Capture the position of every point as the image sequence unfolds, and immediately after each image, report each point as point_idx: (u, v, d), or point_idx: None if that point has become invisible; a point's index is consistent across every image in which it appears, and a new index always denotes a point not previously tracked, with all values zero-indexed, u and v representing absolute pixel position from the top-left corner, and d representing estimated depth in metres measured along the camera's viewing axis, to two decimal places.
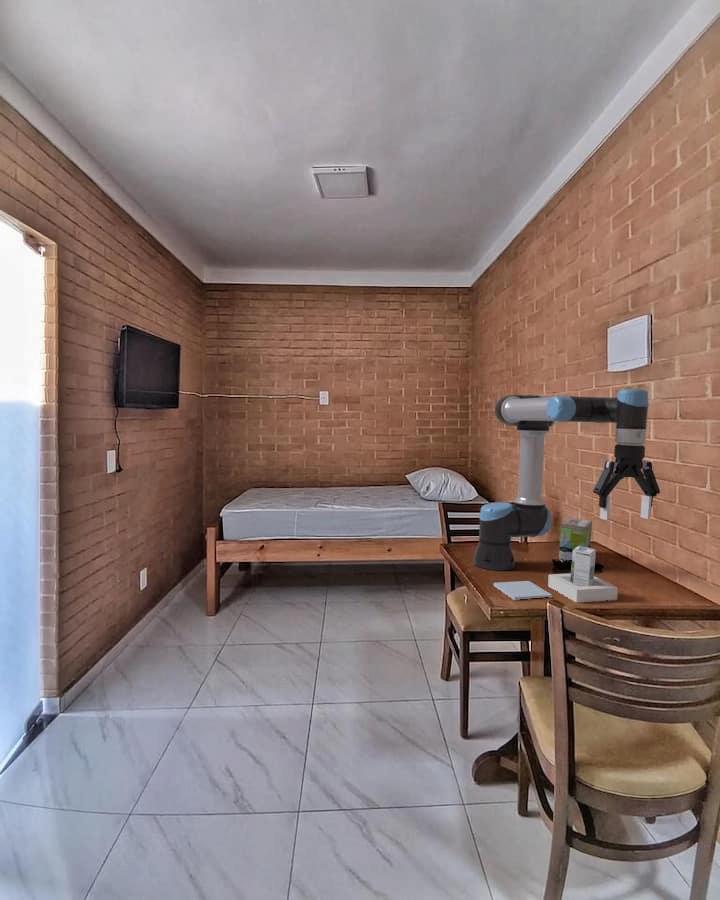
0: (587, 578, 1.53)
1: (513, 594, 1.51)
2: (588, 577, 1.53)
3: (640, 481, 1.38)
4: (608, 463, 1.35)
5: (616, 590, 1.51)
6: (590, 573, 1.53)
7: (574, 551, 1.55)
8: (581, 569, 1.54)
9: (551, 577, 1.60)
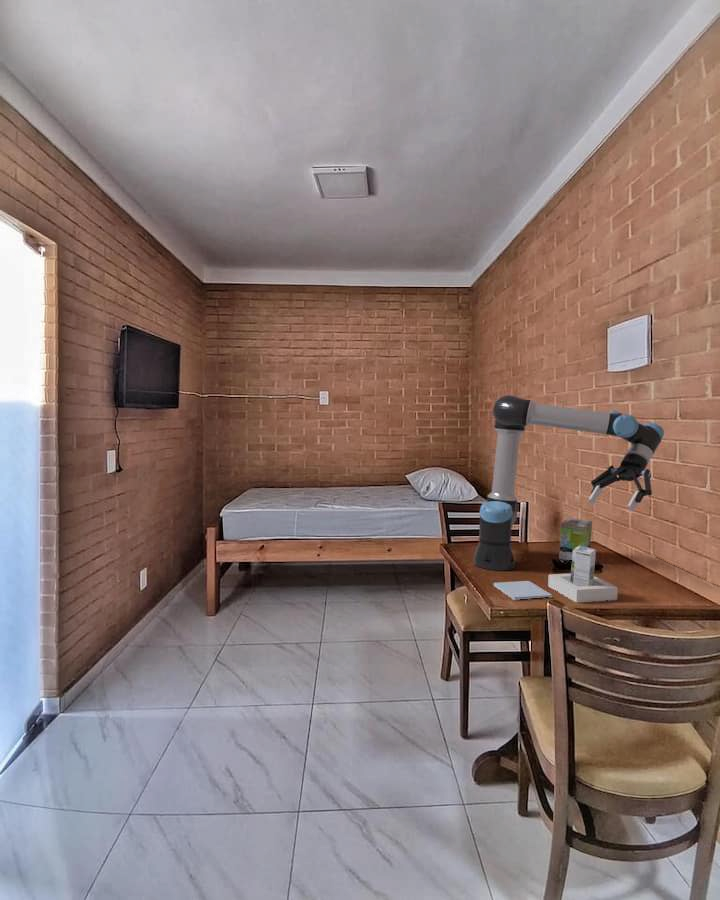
0: (587, 578, 1.53)
1: (513, 594, 1.51)
2: (588, 577, 1.53)
3: (612, 481, 1.71)
4: (650, 473, 1.63)
5: (616, 590, 1.51)
6: (590, 573, 1.53)
7: (574, 551, 1.55)
8: (581, 569, 1.54)
9: (551, 577, 1.60)
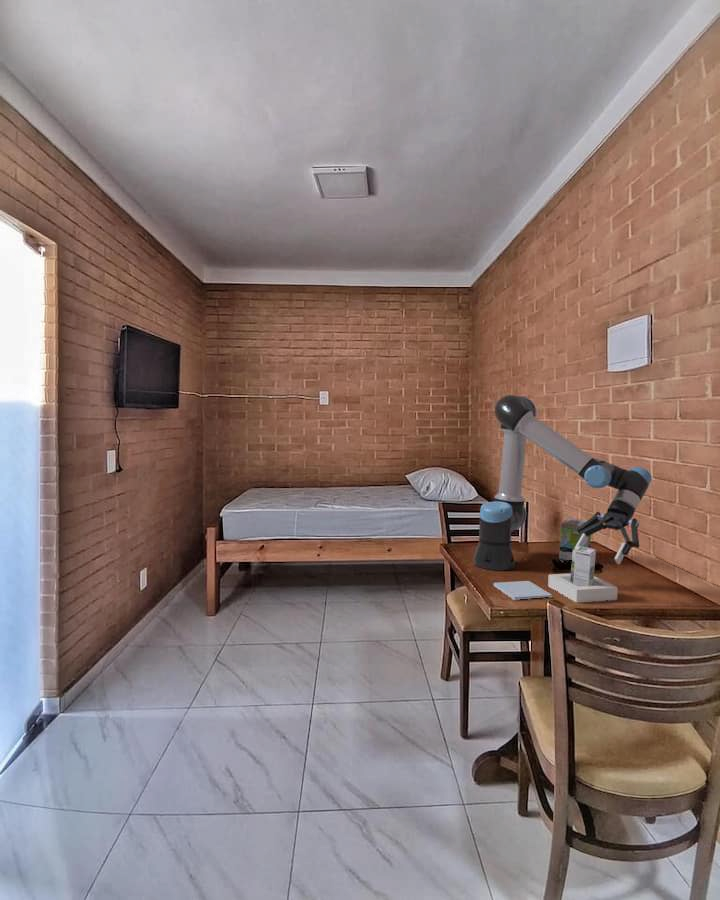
0: (587, 578, 1.53)
1: (513, 594, 1.51)
2: (588, 577, 1.53)
3: (599, 528, 1.64)
4: (637, 522, 1.57)
5: (616, 590, 1.51)
6: (590, 573, 1.53)
7: (574, 551, 1.55)
8: (581, 569, 1.54)
9: (551, 577, 1.60)
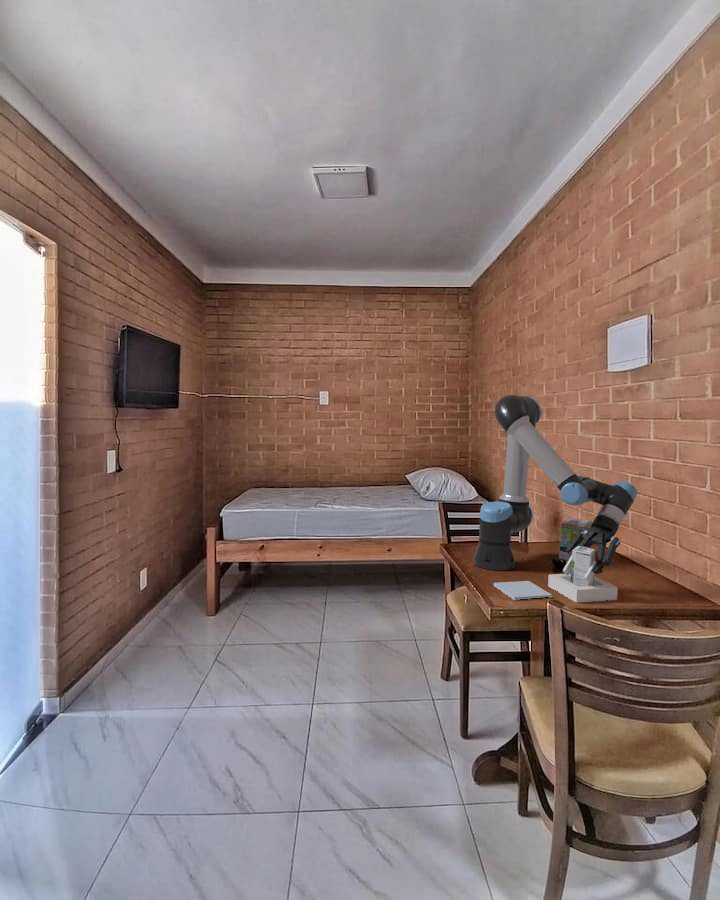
0: None
1: (513, 594, 1.51)
2: None
3: (586, 546, 1.61)
4: (619, 541, 1.54)
5: (616, 590, 1.51)
6: None
7: (574, 551, 1.55)
8: (580, 569, 1.54)
9: (551, 577, 1.60)
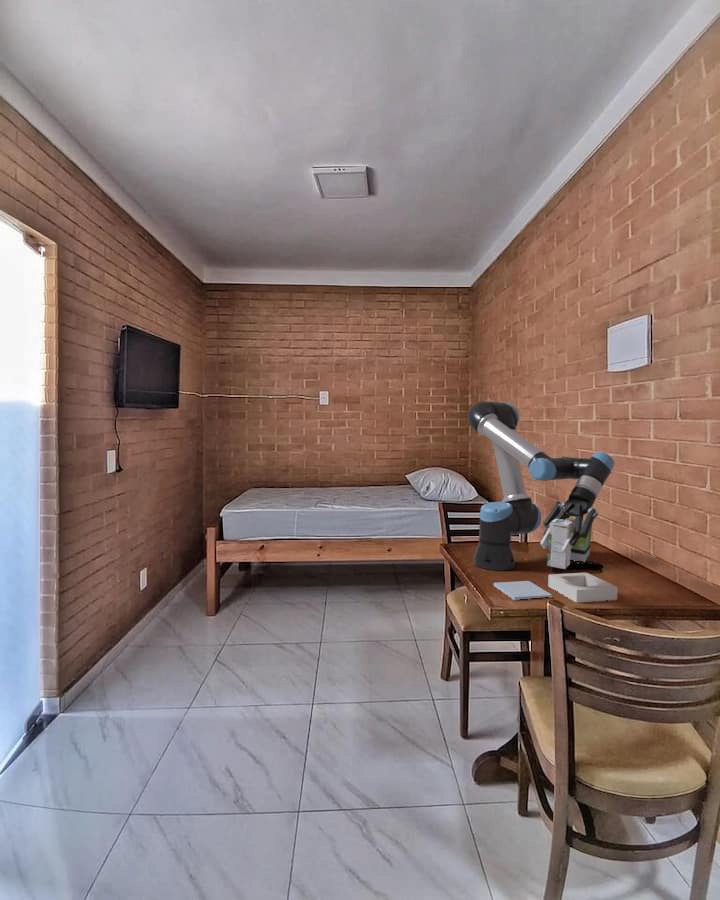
0: None
1: (513, 594, 1.51)
2: None
3: (563, 518, 1.58)
4: (596, 513, 1.52)
5: (616, 590, 1.51)
6: None
7: (551, 524, 1.52)
8: (558, 541, 1.52)
9: (551, 577, 1.60)
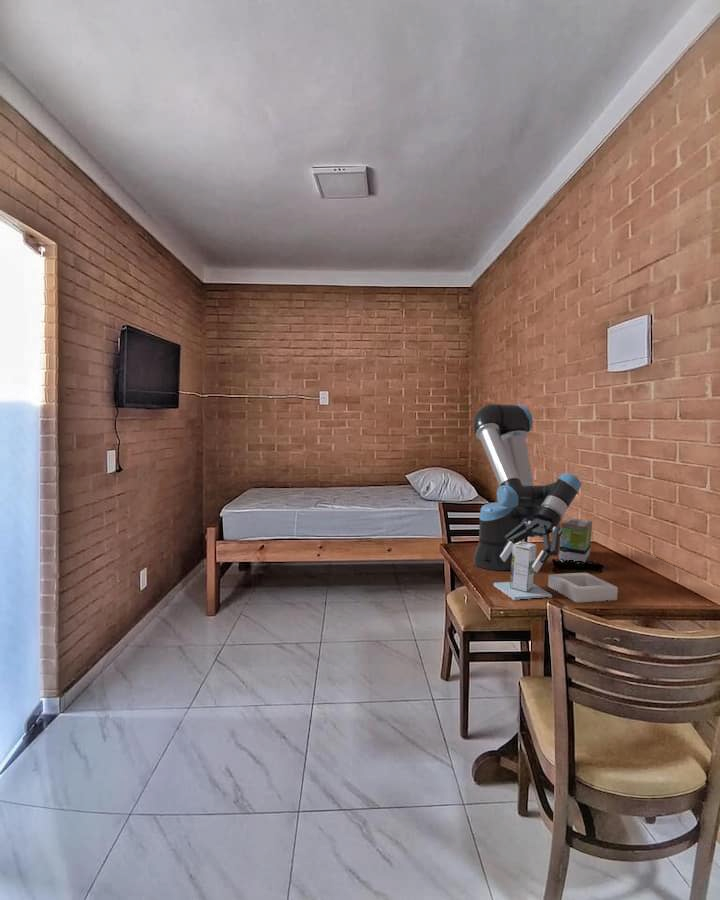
0: (526, 573, 1.53)
1: (513, 594, 1.51)
2: (527, 572, 1.53)
3: (526, 535, 1.61)
4: (560, 530, 1.54)
5: (616, 590, 1.51)
6: (529, 568, 1.53)
7: (514, 545, 1.55)
8: (520, 563, 1.54)
9: (551, 577, 1.60)
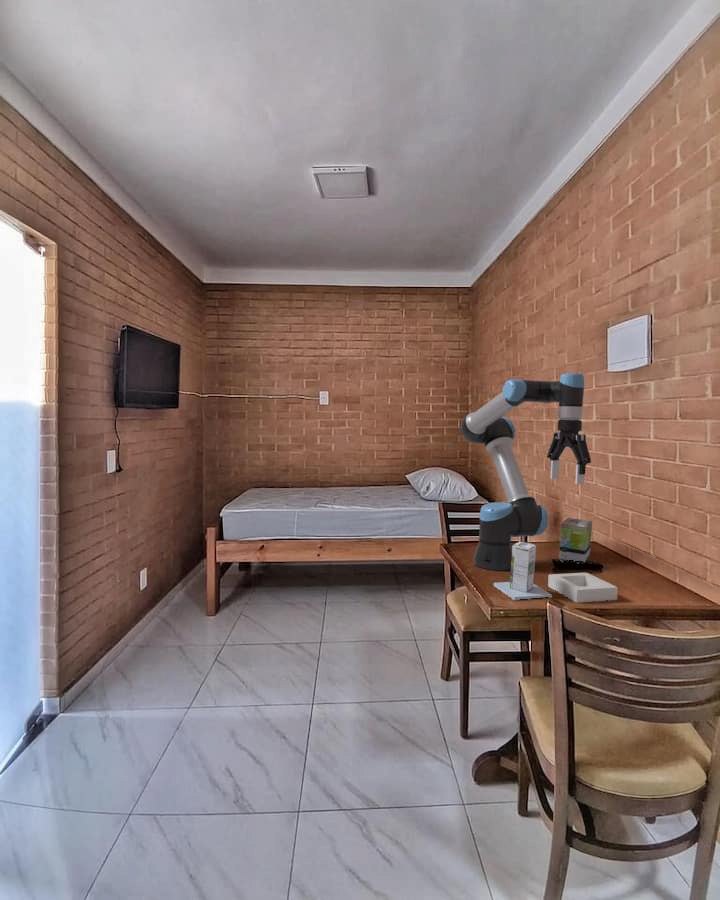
0: (525, 573, 1.53)
1: (513, 594, 1.51)
2: (527, 572, 1.52)
3: (562, 449, 1.69)
4: (582, 436, 1.59)
5: (616, 590, 1.51)
6: (529, 568, 1.53)
7: (514, 546, 1.55)
8: (520, 564, 1.54)
9: (551, 577, 1.60)
